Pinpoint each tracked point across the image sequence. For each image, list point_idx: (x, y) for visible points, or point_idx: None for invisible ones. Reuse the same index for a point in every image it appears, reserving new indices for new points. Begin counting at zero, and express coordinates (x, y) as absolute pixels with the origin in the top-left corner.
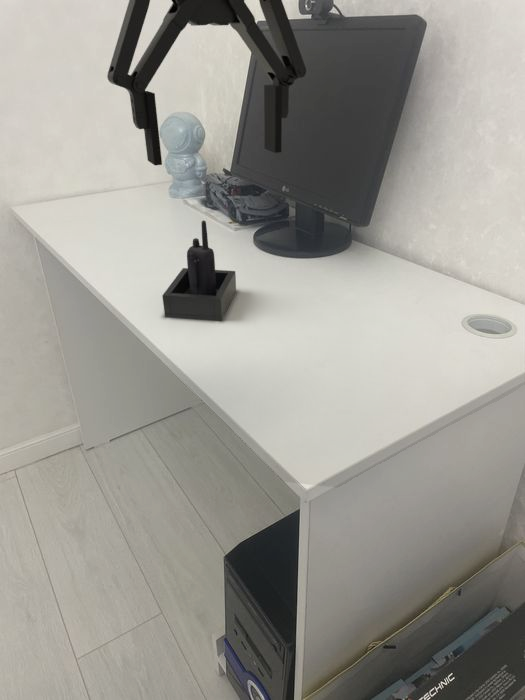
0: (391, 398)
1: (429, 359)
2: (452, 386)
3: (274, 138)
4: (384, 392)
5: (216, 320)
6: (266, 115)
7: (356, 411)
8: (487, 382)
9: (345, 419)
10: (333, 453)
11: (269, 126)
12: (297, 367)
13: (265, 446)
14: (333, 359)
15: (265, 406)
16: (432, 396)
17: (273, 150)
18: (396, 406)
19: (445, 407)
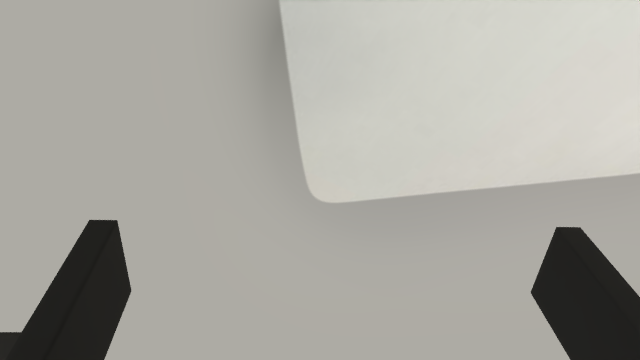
0: (495, 136)
1: (622, 89)
2: (579, 152)
3: (553, 322)
4: (499, 122)
5: None
6: (618, 333)
7: (438, 136)
8: (620, 165)
9: (415, 142)
10: (363, 181)
11: (586, 320)
12: (444, 4)
13: (301, 139)
14: (510, 14)
15: (341, 72)
16: (539, 156)
17: (536, 287)
18: (486, 151)
19: (531, 177)
